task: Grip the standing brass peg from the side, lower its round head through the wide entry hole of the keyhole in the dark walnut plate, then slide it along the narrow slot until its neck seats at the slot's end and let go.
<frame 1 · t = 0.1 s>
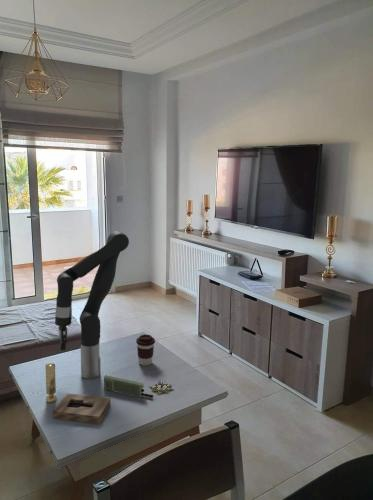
hand: (62, 346, 195), 17 cm above the table, tool pointing down, fingers open, 8 cm apart
coffee cup: (145, 363, 219), on the table
brass peg: (51, 400, 180), on the table
handheld radio: (128, 394, 188), on the table
lily flower: (161, 389, 193), on the table
keyhole plate: (82, 411, 173), on the table
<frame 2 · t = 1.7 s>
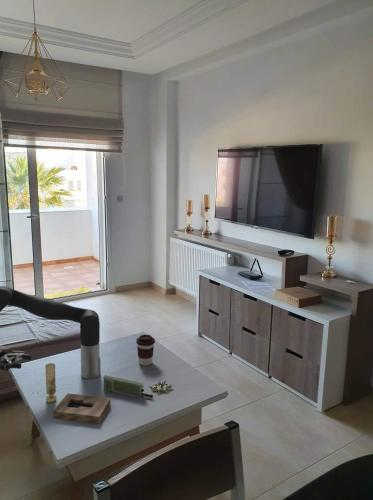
hand: (26, 361, 178), 18 cm above the table, tool horizontal, fingers open, 8 cm apart
nothing on the table moved.
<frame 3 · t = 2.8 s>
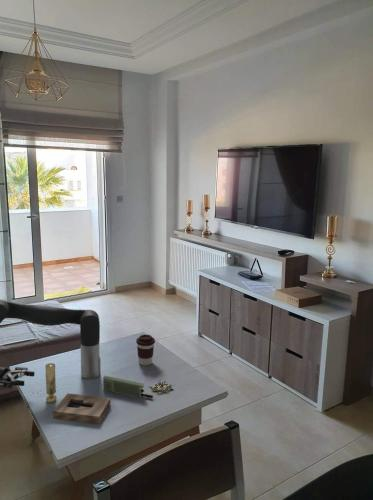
hand: (29, 378, 180), 9 cm above the table, tool horizontal, fingers open, 8 cm apart
nothing on the table moved.
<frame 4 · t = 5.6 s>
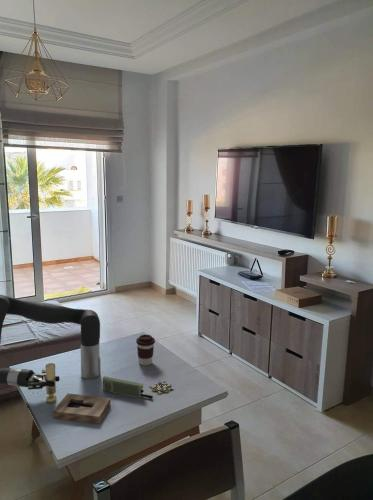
hand: (56, 381, 178), 10 cm above the table, tool horizontal, fingers closed on brass peg, 4 cm apart
brass peg: (51, 400, 180), on the table, touching gripper
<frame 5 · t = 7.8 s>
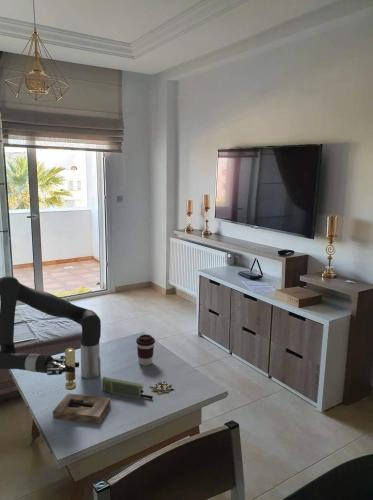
hand: (76, 367, 170), 20 cm above the table, tool horizontal, fingers closed on brass peg, 4 cm apart
brass peg: (70, 387, 172), point 10 cm above the table, touching gripper
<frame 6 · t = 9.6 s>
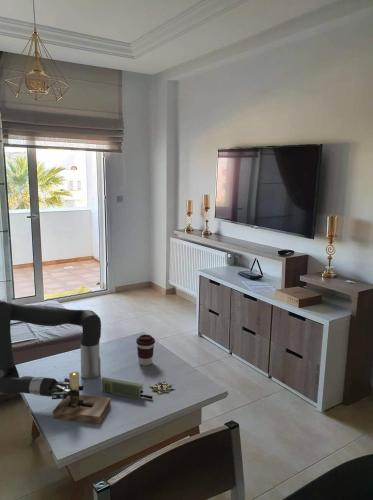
hand: (80, 390, 171), 10 cm above the table, tool horizontal, fingers closed on brass peg, 4 cm apart
brass peg: (74, 410, 173), resting in keyhole plate, touching gripper
when the fingers open (10 cm above the table, at t = 11.5 s): brass peg stays where it is, resting in keyhole plate.
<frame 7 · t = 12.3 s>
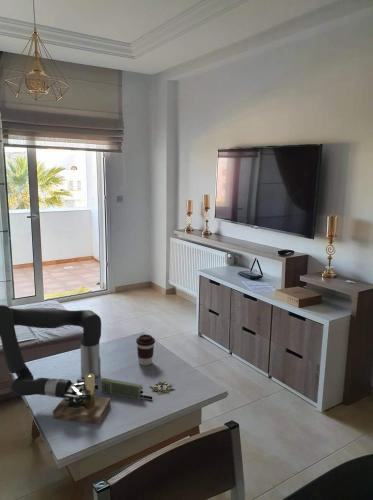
hand: (94, 392, 170), 10 cm above the table, tool horizontal, fingers open, 8 cm apart
brass peg: (90, 412, 172), resting in keyhole plate
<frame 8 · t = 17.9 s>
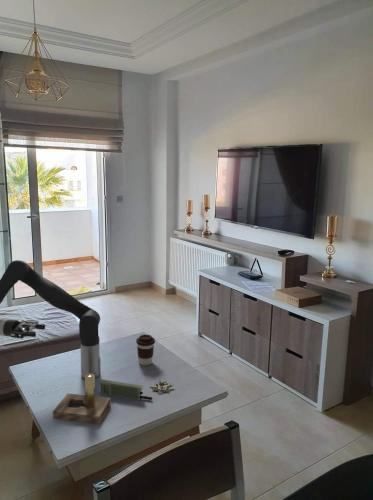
hand: (40, 330, 181), 30 cm above the table, tool horizontal, fingers open, 8 cm apart
at the end: brass peg 0.6 cm from the target spot on the keyhole plate, point 0.0 cm above the keyhole plate's base; brass peg tilted 0°; the gripper is holding nothing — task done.
